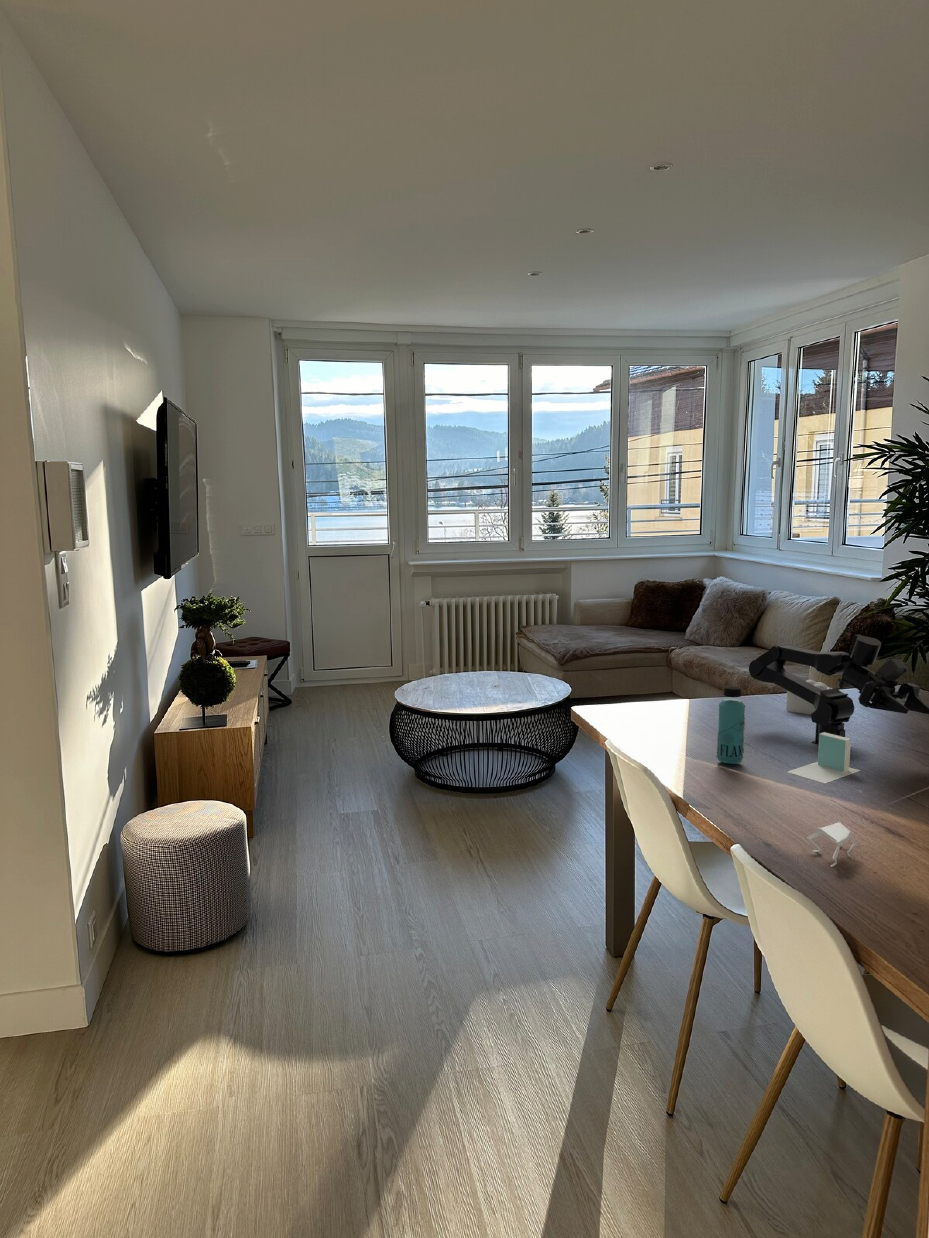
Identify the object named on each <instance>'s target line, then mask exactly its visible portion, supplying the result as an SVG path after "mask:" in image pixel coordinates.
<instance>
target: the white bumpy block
mask: <svg viewBox="0 0 929 1238" xmlns="http://www.w3.org/2000/svg"><path fill="white" fill-rule="evenodd" d="M805 681H806V682H808V683H810V684H812V685H814V686H815V687H817V688H819V689H821V690H828V689H833V688H832V687H831V686H828V685H826V684H825V683H824V682H819V681H818V682H816V681H814V680H813V679H807V680H805ZM785 704H786V707H785V710H786V711H788V712H792V713H796V712H797V714H807V715H811V714H812V713H813V712H814V711H815V708H814V706H813V705H812V704H811V703H809V702H807V701H805V700H803V699H801V698H800V697H798V696H796V695H794V694H792V693H791V692H789V691H787V690H786V703H785Z"/></svg>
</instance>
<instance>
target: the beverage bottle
mask: <svg viewBox="0 0 929 1238" xmlns="http://www.w3.org/2000/svg"><path fill="white" fill-rule="evenodd" d="M723 688H724V690H723V696H724V697H727V698H726V699H725V698H724V699H723V700H721V701H720V702H719V703H718V727H717V730H718V731H717V735H716V736H717V738H716V739H717V741H716V743H717V744H716V753H715V754H716V756H715V757H716V759H717V761H719V762H721V763H725V764H730V765H731V764H733V765H734V764H740V763H742V762H743V760H744V754H745V753H744V752H745V751H744V750H745V748H744V741H745V736H744V734H745V730H746V729H745V727H746V721H745V719H746V718H745V712H746V709H745V708H746V705H745V704H744V702H743V701H742V700H740V699H736V698H740V697H742V689H741V687H740V686H734V685H727V686H725V687H723ZM728 697H729V698H728Z"/></svg>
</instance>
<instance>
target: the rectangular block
mask: <svg viewBox="0 0 929 1238" xmlns="http://www.w3.org/2000/svg"><path fill="white" fill-rule="evenodd" d="M851 744H852V739H851V738H849V737H846V736H845V737H841V736H837V735H833V734H829V733H825V732H823V733H820V734H819V745H818V750H817V751H818V753H817V762H818V765H820V766H823V767H827V768H830V769H834V770H837V771H841V772H844V773H845V772H847V771H849V767H850V763H851V762H850V761H851V748H852V747H851Z"/></svg>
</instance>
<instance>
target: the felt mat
mask: <svg viewBox="0 0 929 1238" xmlns="http://www.w3.org/2000/svg"><path fill="white" fill-rule="evenodd" d="M861 771H862V770H860V769H856V768H853V767H850V766H849V771H847V772H845V773H844V772H841V771H837V770H834V769H830V768H827V767H823V766H820V765H818V761H815V762H813V763H809V764H806V765H803V766H800V767H797V768H795V769H791V770H788V771H787V773H788V774H792V775H795V776H799V777H802V778H805V779H808V780H812V781H815V782H819V783H821V784H827V783H830V782H833V781H836V780H838V779H841V778H844V777H847V776H849V775H853V774H856V773H859V772H861Z"/></svg>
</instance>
